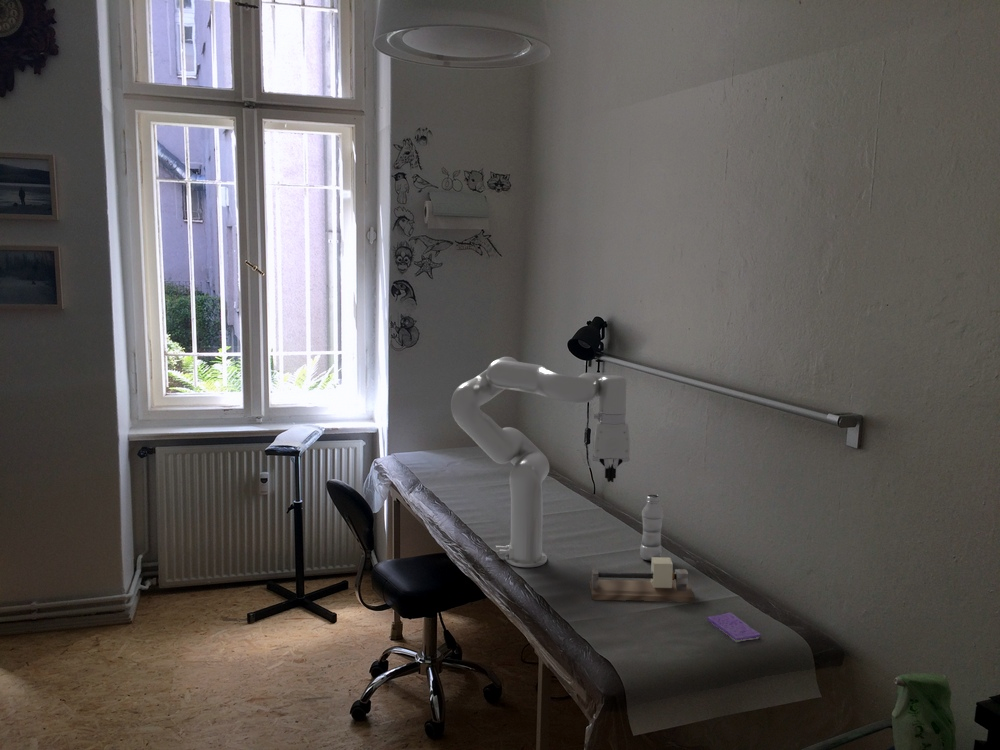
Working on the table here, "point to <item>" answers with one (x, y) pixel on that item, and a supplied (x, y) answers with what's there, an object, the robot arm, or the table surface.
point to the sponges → (733, 626)
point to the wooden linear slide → (639, 587)
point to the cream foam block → (661, 572)
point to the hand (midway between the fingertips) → (610, 480)
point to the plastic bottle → (651, 528)
